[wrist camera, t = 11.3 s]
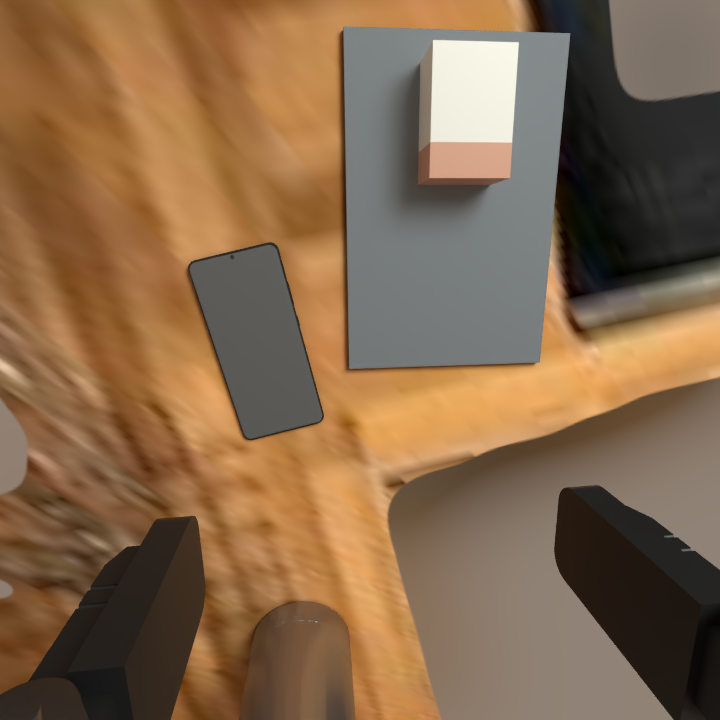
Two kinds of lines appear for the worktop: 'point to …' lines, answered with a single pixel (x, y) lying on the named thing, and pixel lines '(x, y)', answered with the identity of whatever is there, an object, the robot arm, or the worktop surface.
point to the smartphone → (257, 339)
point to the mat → (445, 211)
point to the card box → (466, 112)
